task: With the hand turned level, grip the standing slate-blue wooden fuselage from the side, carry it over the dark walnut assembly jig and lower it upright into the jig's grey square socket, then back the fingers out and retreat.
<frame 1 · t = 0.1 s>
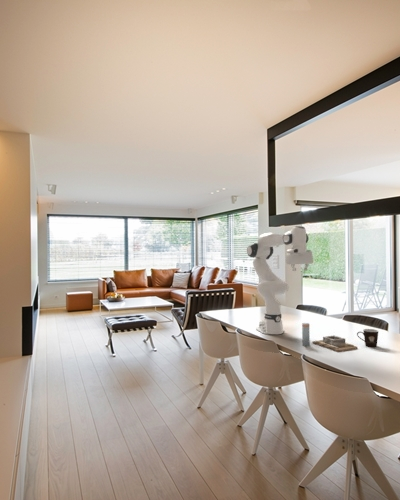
hand: (300, 270, 226), 48 cm above the table, tool pointing down, fingers open, 8 cm apart
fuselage: (306, 345, 218), on the table
coffee mug: (368, 345, 216), on the table
assembly jig: (334, 345, 216), on the table
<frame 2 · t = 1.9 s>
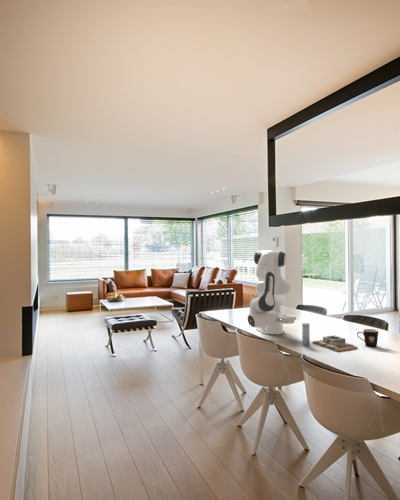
hand: (290, 316, 214), 19 cm above the table, tool horizontal, fingers open, 8 cm apart
nothing on the table moved.
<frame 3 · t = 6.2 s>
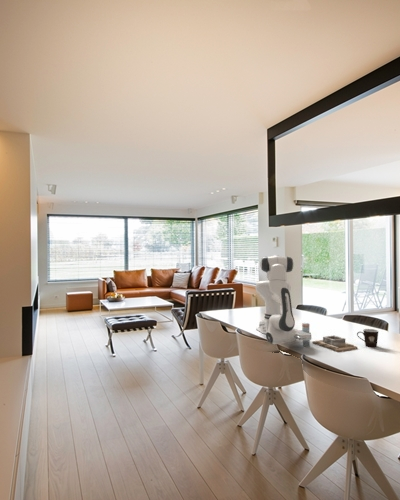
hand: (306, 332, 219), 8 cm above the table, tool horizontal, fingers closed on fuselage, 4 cm apart
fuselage: (306, 345, 218), on the table, touching gripper
everything else where it was.
when the fingers open (11 cm above the table, at t = 10.7 s): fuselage drops 1 cm, resting on assembly jig.
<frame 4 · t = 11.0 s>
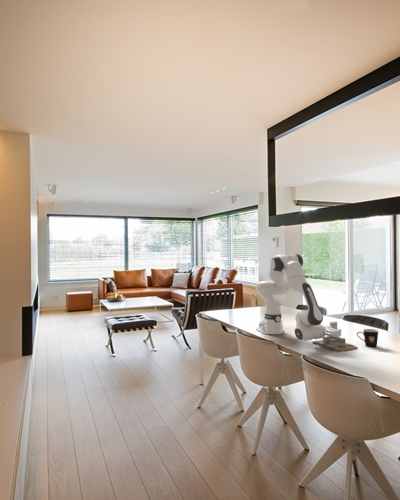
hand: (335, 329, 217), 11 cm above the table, tool horizontal, fingers open, 8 cm apart
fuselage: (334, 343, 216), point 1 cm above the table, touching assembly jig
everything else where it was.
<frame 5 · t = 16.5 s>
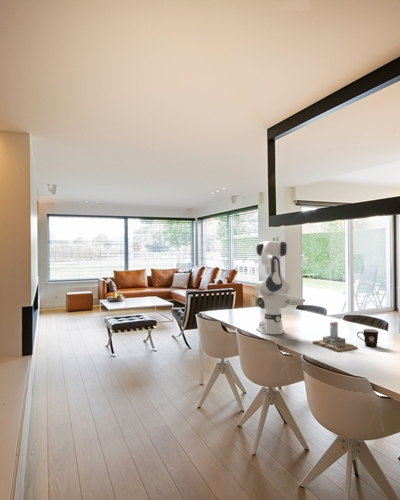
hand: (299, 299, 217), 30 cm above the table, tool horizontal, fingers open, 8 cm apart
nothing on the table moved.
at the end: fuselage 0.1 cm off-centre on the assembly jig, point 1.2 cm above the assembly jig's base; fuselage tilted 0°; the gripper is holding nothing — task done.
